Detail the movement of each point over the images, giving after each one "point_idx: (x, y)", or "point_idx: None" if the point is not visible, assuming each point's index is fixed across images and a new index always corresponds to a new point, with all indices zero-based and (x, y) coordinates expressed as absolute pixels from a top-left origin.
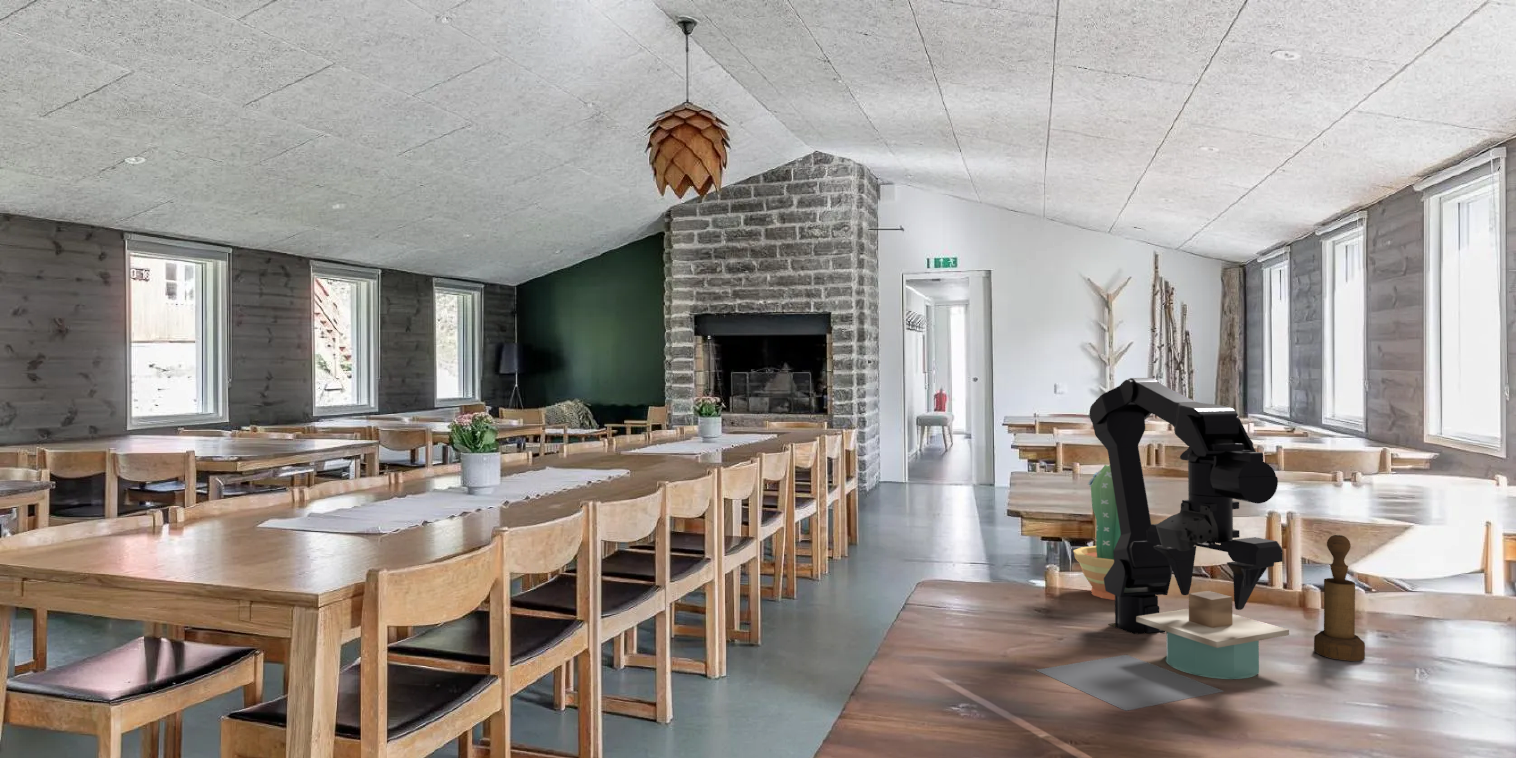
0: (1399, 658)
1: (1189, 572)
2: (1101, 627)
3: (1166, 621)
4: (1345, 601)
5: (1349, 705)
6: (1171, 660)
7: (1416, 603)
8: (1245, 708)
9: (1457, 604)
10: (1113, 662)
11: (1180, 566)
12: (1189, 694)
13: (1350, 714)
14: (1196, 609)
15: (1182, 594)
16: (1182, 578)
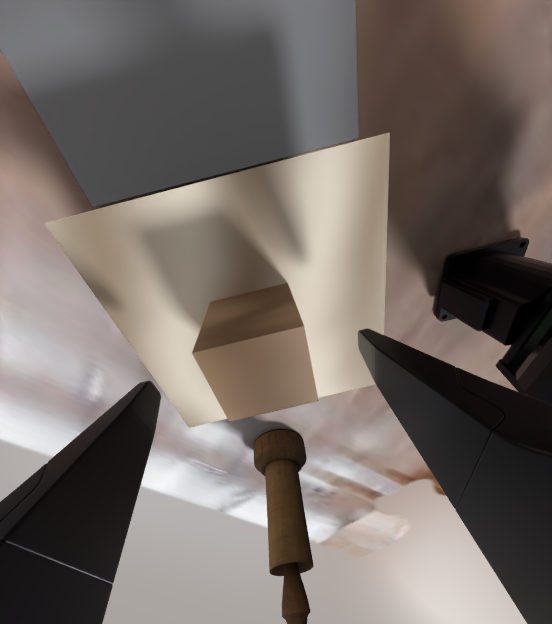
0: (255, 474)
1: (409, 422)
2: (532, 226)
3: (297, 208)
4: (269, 530)
5: (83, 365)
6: None
7: (378, 530)
8: (19, 199)
9: (364, 542)
10: (317, 38)
11: (448, 419)
12: (46, 93)
13: (39, 347)
14: (263, 307)
15: (363, 329)
16: (395, 371)
